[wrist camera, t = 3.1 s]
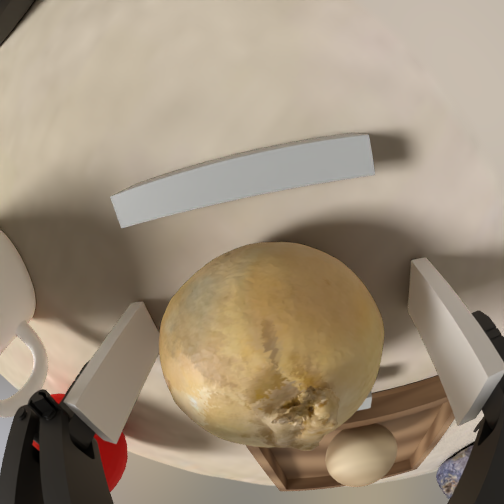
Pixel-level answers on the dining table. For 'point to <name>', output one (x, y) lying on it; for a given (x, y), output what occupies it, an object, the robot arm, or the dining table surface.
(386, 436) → the ball
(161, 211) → the cradle
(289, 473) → the tray
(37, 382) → the cup
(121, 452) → the tomato
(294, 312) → the onion
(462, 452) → the rock
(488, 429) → the robot arm
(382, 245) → the dining table surface
